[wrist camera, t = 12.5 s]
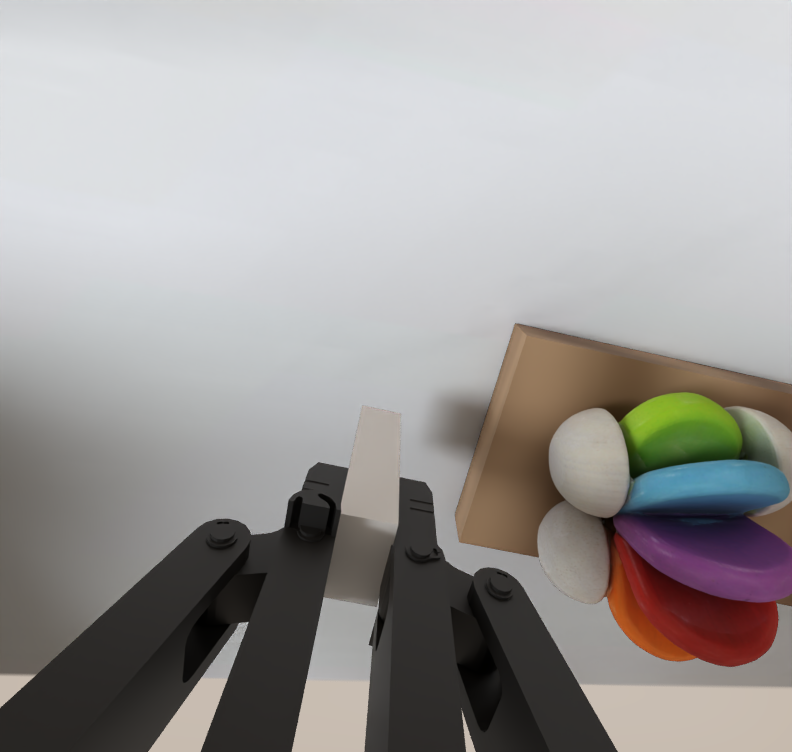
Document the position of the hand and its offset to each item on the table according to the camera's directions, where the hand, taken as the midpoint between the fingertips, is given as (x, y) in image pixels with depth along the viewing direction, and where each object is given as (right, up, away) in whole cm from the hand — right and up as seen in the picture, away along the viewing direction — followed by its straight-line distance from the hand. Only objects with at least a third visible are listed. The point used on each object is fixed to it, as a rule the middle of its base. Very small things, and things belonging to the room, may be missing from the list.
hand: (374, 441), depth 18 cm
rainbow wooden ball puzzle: (+11, -2, +2) cm, 11 cm away
